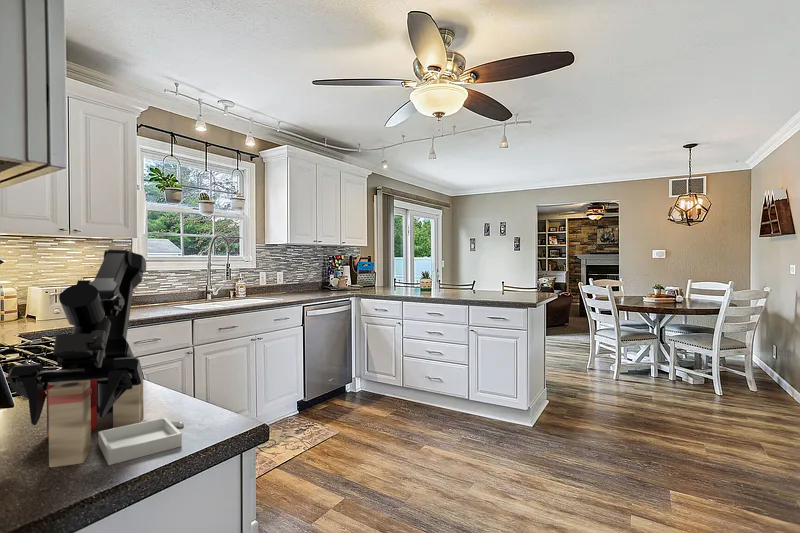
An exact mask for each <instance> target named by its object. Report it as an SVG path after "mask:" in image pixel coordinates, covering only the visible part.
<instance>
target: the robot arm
mask: <svg viewBox="0 0 800 533" xmlns="http://www.w3.org/2000/svg"><path fill="white" fill-rule="evenodd" d="M146 271H147V261H146V258H145V257H144V256H143V255H142V254H140V253H135V252H134V251H132V250H130V249H128V248H108V249H105V250H104V253H103V260H102V263H101V264H100V267H99V269H98V271H97V273H96V275H95V277H94V279H93V281H91V280H89V279H87V280H85V279H83V280H82V279H81V280H77V282H76V284H74V285H71V286H69V287H66V288H65V289H64V290H63V291H62V292H59V296H58V300H59V302H60V306H61V307H62V310H63V313H64V314H65V318H66V319H67V322H68V324H69V325H72V326H73V329H72V333H68V334H67V333H66V334H64V333H63V334H56V335H55V338H54V345H53V352H52V355H53V356H57V359H56V363H57V366H61V369H50V370H45V368H44V366H43V364H42V363H28V364H16V365H13V366H12V367H11V368H10V369H9V371H8V374H7V376H6V379H7V381H8V383H9V385H11V387H12V389H13V391H14V392H15V394H16V395H19V396H23V397H24V398H25V399H27V400H28V408H29V415H30V423H31V425H32V426H37V424H38V422H39V420H40V419H41V415H42V412H43V408H44V405H45V402H46V400H47V392H46V389H47V387H48V383H49V382H62V381H74V380H75V381H82V380H94V379H97V413H99V414H98V416H99V418H100V419H104V417H105V416H106V415H107V413H113V404H114V403H115V402H116V400H117V399H118V398H119V397H120V396H121V395H122V394H123V393H124V392H125V391H126V390H129V389H132V388H133V386H134V385H139V384H141V382H142V376H143V369H142V365H141V360H140V359H139V358H138V357H137V356H135V355H134V354H133V351H132V349H131V346H130V344H129V342H128V340H127V337H128V329H129V322H130V316H131V310H132V309H131V307H132V301H133V293H134V289H135V288H136V287H137V286H139V284H141V283H142V281H143V276H144V274H145V273H146Z"/></svg>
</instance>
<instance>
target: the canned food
mask: <svg viewBox="0 0 800 533" xmlns="http://www.w3.org/2000/svg"><path fill="white" fill-rule="evenodd" d="M82 381H87V380H82ZM63 382H75V380H74V381H62V382H49V383H48V387H47V389H46V390H45V393H46V394H47V396H46V433H47V434H46V435H47V437H48V438H49V406H48V390H49V389H51V388H52V387H54V386H55V385H57V384H58V383H63ZM90 386H91V394H90V395H91V433H93V432H94V431H95V430H96V428H97V426H98V412H97V379H94V380H90Z"/></svg>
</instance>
